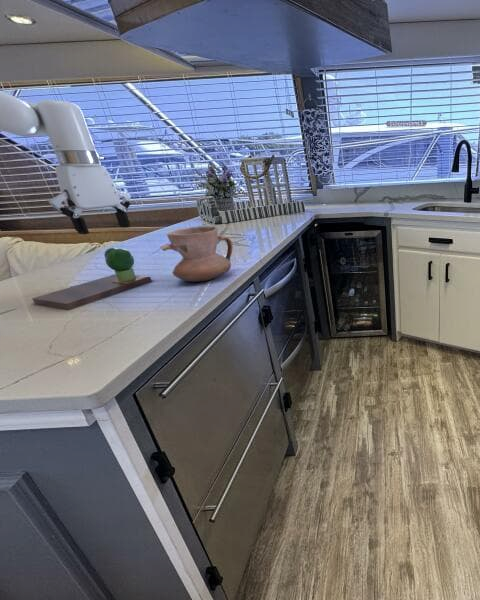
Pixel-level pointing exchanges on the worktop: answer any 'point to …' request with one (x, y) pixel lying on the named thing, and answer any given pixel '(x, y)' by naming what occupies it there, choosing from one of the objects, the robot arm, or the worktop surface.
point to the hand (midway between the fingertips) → (105, 230)
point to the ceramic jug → (199, 253)
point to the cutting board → (89, 292)
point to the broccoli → (120, 263)
